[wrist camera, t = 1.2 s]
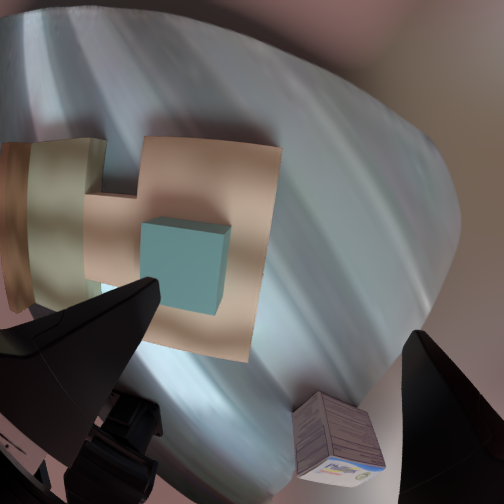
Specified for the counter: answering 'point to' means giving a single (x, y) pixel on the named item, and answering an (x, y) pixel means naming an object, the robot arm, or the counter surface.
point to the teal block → (186, 261)
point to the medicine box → (335, 443)
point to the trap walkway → (136, 228)
